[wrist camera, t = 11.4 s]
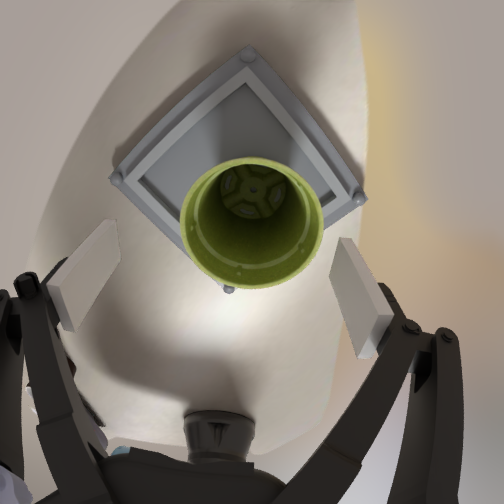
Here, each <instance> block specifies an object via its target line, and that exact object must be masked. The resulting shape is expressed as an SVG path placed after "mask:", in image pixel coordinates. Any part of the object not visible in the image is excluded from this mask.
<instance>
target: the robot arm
mask: <svg viewBox="0 0 504 504" xmlns="http://www.w3.org/2000/svg"><path fill="white" fill-rule="evenodd" d="M120 261H121V253H120V246H119V239H118V231H117V223H116V219H105V220H104V221H103V222H102V223H101V224H100V225H99V226H98V227H97V228H96V229H95V230H94V231H93V232H92V233H91V234H90V235H89V236H88V237H87V238H86V239H85V240H84V241H83V242H82V243H81V245H80V246H79V247H78V248H77V249H76V250H75V251H74V252H73V253H72V254H71V256H70V257H66V258H64V259H63V260H61V261H59V262H58V263H57V265H56V266H55V267H54V269H52V270H51V271H50V273H49V274H48V275H47V276H46V277H45V278H44V280H43V281H42V282H41V283H39V280H38V277H37V275H36V273H34V272H25V273H23V274H21V275H19V276H18V277H17V278H16V279H15V280H14V283H13V284H14V287H15V289H16V292H17V295H18V297H13V298H10V296H9V293H8V291H7V290H5V289H1V290H0V504H31V502H32V500H33V497H32V494H31V493H30V491H29V490H28V488H27V485H26V484H25V482H24V458H23V447H22V427H21V395H22V376H23V363H24V354H25V360H26V366H27V371H28V377H29V382H30V386H31V391H32V395H33V399H34V403H35V407H36V411H37V415H38V418H39V425H37V426H36V430H37V435H38V438H39V441H40V444H41V447H42V450H43V453H44V456H45V458H46V461H47V464H48V466H49V469H50V471H51V474H52V476H53V479H54V481H55V483H56V485H57V488H58V490H56V491H54V492H53V493H51V494H50V495H48V496H46V497H45V498H43V499H42V500H40V501H38V502H37V503H35V504H337V503H338V502H339V501H340V499H341V498H342V497H343V495H344V494H345V492H346V491H347V489H348V488H349V487H350V485H351V484H352V482H353V481H354V479H355V478H356V476H357V475H358V473H359V471H360V469H361V467H362V464H361V463H362V460H363V459H364V457H365V455H366V454H367V452H368V450H369V449H370V447H371V445H372V444H373V442H374V440H375V438H376V436H377V435H378V433H379V431H380V429H381V427H382V425H383V424H384V422H385V420H386V418H387V416H388V414H389V412H390V410H391V408H392V406H393V404H394V401H395V400H396V397H397V395H398V393H399V391H400V389H401V387H402V384H403V382H404V380H405V377H406V375H407V373H411V384H410V394H409V402H408V410H407V416H406V423H405V429H404V434H403V440H402V445H401V450H400V455H399V459H398V464H397V468H396V472H395V476H394V480H393V483H392V487H391V491H390V494H389V497H388V501H387V504H459V503H458V496H457V494H458V488H459V481H460V472H461V464H462V450H463V430H464V403H463V402H464V401H463V380H462V367H461V359H460V358H461V357H460V348H459V341H458V337H457V336H456V335H455V333H454V332H453V331H452V330H450V329H448V328H444V327H441V328H438V330H437V331H436V332H435V334H430V333H425V332H422V330H421V327H420V326H419V325H418V324H417V323H416V322H414V321H413V320H410V319H407V318H406V316H405V315H404V313H403V311H402V309H401V308H400V306H399V304H398V302H397V300H396V299H395V297H394V295H393V294H392V292H391V290H390V289H389V288H388V287H387V286H386V285H385V284H384V283H377V282H376V280H375V278H374V276H373V275H372V273H371V271H370V269H369V268H368V266H367V264H366V263H365V261H364V259H363V257H362V256H361V254H360V252H359V251H358V249H357V247H356V246H355V244H354V242H353V241H352V239H350V238H341V237H339V241H338V245H337V249H336V252H335V256H334V260H333V263H332V267H331V271H330V274H329V278H330V281H331V284H332V286H333V289H334V292H335V295H336V297H337V300H338V303H339V306H340V309H341V312H342V315H343V317H344V320H345V323H346V326H347V329H348V332H349V335H350V338H351V341H352V344H353V348H354V350H355V354H356V357H357V359H363V358H372V356H373V354H374V353H375V351H376V350H377V352H378V355H379V357H378V358H377V360H376V362H375V364H374V365H373V367H372V368H371V370H370V372H369V374H368V375H367V377H366V379H365V381H364V382H363V384H362V385H361V387H360V389H359V390H358V392H357V393H356V395H355V396H354V398H353V399H352V401H351V403H350V404H349V406H348V407H347V409H346V410H345V411H344V413H343V414H342V416H341V417H340V419H339V420H338V422H337V423H336V424H335V426H334V427H333V428H332V430H331V431H330V433H329V434H328V435H327V437H326V438H325V439H324V440H323V442H322V443H321V444H320V446H319V447H318V448H317V449H316V451H315V452H314V453H313V455H312V456H311V457H310V458H309V459H308V461H307V462H306V463H305V464H304V465H303V467H302V468H301V469H300V470H299V471H298V472H297V473H296V475H295V476H294V477H293V478H292V479H291V480H290V481H289V482H288V483H287V484H285V483H283V482H282V481H281V480H280V479H278V478H276V477H275V476H273V475H271V474H269V473H267V472H264V471H261V470H258V469H254V463H253V462H246V457H247V454H248V451H249V448H250V445H251V441H252V440H253V439H254V436H255V425H254V423H253V422H252V421H251V420H249V419H248V418H246V417H243V416H241V415H238V414H234V413H229V412H222V411H201V412H195V413H192V414H190V415H188V416H187V417H186V418H185V420H184V427H183V429H184V433H185V436H186V442H187V447H188V461H187V462H184V461H180V460H175V459H173V458H170V457H168V456H166V455H163V454H161V453H158V452H153V451H148V450H143V449H138V448H134V447H126V446H119V447H117V448H116V449H115V450H114V451H113V453H112V454H111V456H108V454H107V452H106V451H105V450H104V448H103V447H102V445H101V443H100V441H99V439H98V437H97V435H96V433H95V431H94V429H93V427H92V424H91V422H90V420H89V418H88V415H87V413H86V411H85V408H84V406H83V403H82V401H81V398H80V396H79V393H78V390H77V388H76V385H75V382H74V379H73V377H72V374H71V371H70V368H69V365H68V362H67V358H66V355H65V352H64V349H63V345H62V342H61V338H60V334H59V331H58V329H57V325H58V323H59V322H61V325H62V327H63V329H64V330H66V331H70V332H75V333H76V332H77V330H78V328H79V327H80V325H81V323H82V321H83V320H84V318H85V316H86V315H87V313H88V311H89V310H90V308H91V306H92V305H93V303H94V301H95V300H96V298H97V296H98V295H99V293H100V291H101V290H102V288H103V287H104V285H105V284H106V282H107V280H108V279H109V277H110V276H111V274H112V273H113V271H114V270H115V268H116V267H117V265H118V264H119V262H120Z"/></svg>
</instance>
